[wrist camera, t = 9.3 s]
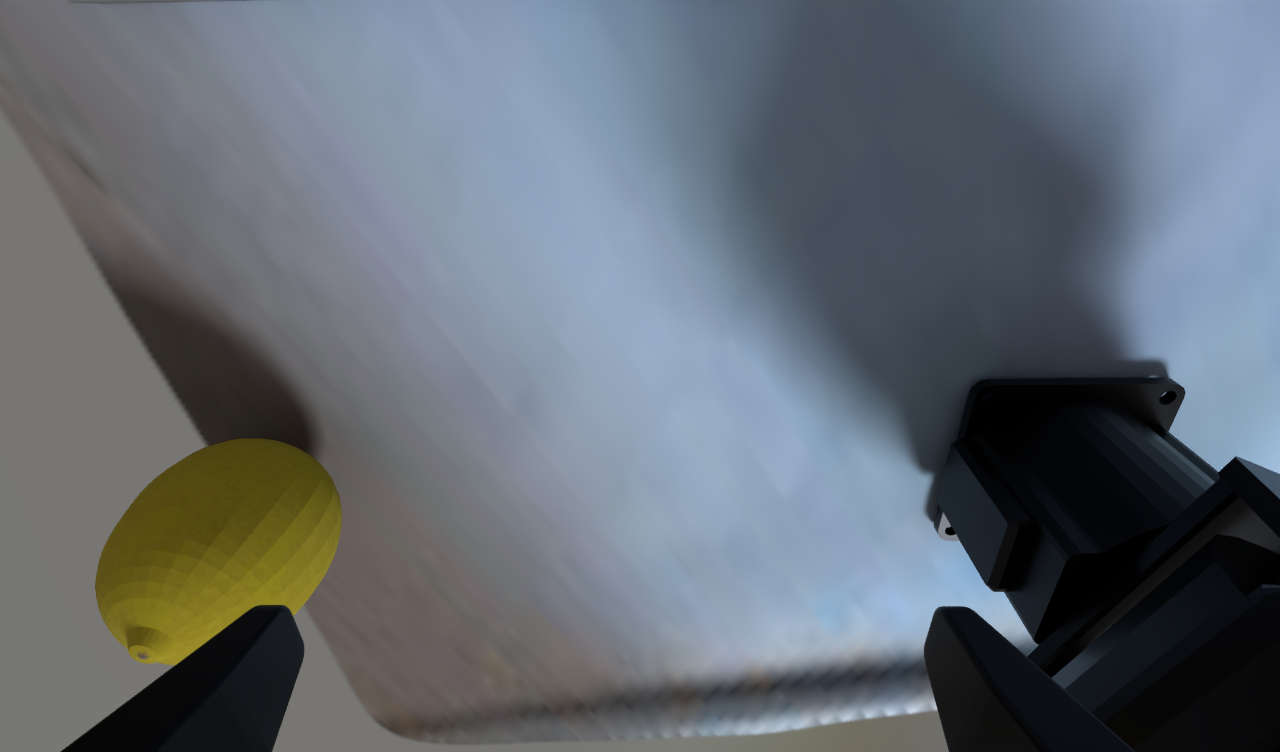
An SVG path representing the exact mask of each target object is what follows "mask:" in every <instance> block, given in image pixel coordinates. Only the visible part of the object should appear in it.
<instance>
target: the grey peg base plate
mask: <svg viewBox="0 0 1280 752" xmlns="http://www.w3.org/2000/svg"><path fill="white" fill-rule="evenodd" d="M200 1H247V0H68V2H69V3H98V4H105V3H153V2H200Z"/></svg>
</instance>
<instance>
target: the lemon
mask: <svg viewBox="0 0 1280 752" xmlns="http://www.w3.org/2000/svg"><path fill="white" fill-rule="evenodd" d="M341 526H342V512H341V503H340V497H339V494H338V492H337V489H336V487H335V485H334V482H333V480H332V478H331V476H330V475H329V474H328V473H327V471H326V470H325V469H324V467H323V466H322V465H321V464H320V463H319V462H317V461H316V460H315V459H314V458H313V457H312V456H310V455H309V454H307V453H306V452H304V451H302V450H301V449H299V448H297V447H294V446H292V445H289V444H286V443H283V442H280V441H275V440H269V439H263V438H248V439H234V440H229V441H225V442H222V443H218V444H215V445H211V446H208V447H205V448H203V449H200V450H198V451H196V452H194V453H192V454H191V455H189V456H187V457H186V458H184V459H182V460H181V461H179V462H178V463H176V464H175V465H173V466H172V467H170V468H169V469H167V470H166V471H164V472H163V473H162V474H160V475H159V476H158V477H157V478H155V479H154V480H153V481H152V482H151V483H150V484H149V485H148V486H147V487H146V488H145V489H144V490H143V491H142V492H141V493H140V494H139V496H138V497H137V498H136V499H135V500H134V502H133V503H132V504H131V506H130V507H129V508H128V510H127V511H126V512H125V514H124V515H123V516H122V518H121V519H120V521H119V522H118V524H117V525H116V526H115V528H114V530H113V531H112V533H111V535H110V536H109V538H108V540H107V542H106V544H105V546H104V548H103V551H102V554H101V557H100V560H99V564H98V570H97V575H96V582H95V590H96V598H97V602H98V607H99V611H100V613H101V616H102V619H103V620H104V622H105V624H106V626H107V627H108V629H109V631H110V632H111V633H112V635H113V636H114V637H115V638H116V639H117V640H118V641H119V642H120V643H121V644H122V645H123V646H125V647H126V648H127V649H128V652H129V654H130V656H131V657H132V658H133V659H135V660H137V661H138V662H141V663H147V664H150V663H155V662H158V663H162V664H167V665H176V664H178V663H179V662H180V661H182V660H183V659H184V658H186V657H187V656H188V655H190V654H191V653H192V652H194V651H195V650H196V649H198V648H199V647H200V646H202V645H203V644H204V643H206V642H207V641H208V640H210V639H211V638H212V637H214V636H215V635H216V634H218V633H219V632H220V631H222V630H223V629H224V628H225V627H227V626H228V625H229V624H231V623H232V622H233V621H235V620H236V619H237V618H239V617H240V616H241V615H243V614H244V613H245V612H247V611H248V610H250V609H251V608H253V607H255V606H258V605H285V606H286V607H288V608H289V609H290V611H291V613H292V615H293V616H294V615H295V614H296V613H297V612H298V610H299V609H300V608H301V607H302V606H303V605H304V604H305V602H306V601H307V600H308V599H309V597H310V596H311V594H312V593H313V592H314V590H315V589H316V587H317V586H318V584H319V583H320V581H321V580H322V579H323V577H324V576H325V574H326V572H327V570H328V568H329V567H330V564H331V562H332V560H333V558H334V555H335V552H336V549H337V545H338V540H339V536H340V531H341Z"/></svg>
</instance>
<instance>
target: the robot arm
mask: <svg viewBox="0 0 1280 752" xmlns="http://www.w3.org/2000/svg"><path fill="white" fill-rule="evenodd" d="M990 392H993V393H992V395H991V396H990V397H989V398H987V399H983V397H984V395H986V394H987V393H990ZM1165 392H1166V394H1165V395H1164V396H1162V397H1161V395H1162V394H1163V393H1165ZM1184 396H1185V390H1184V388H1183V387H1182V386H1181V385H1179V384H1178V383H1176V382H1175V381H1173V380H1172V379H1170V378H1048V379H985V380H981V381H979V382H977V383H976V384H975V385H974V386H973V387H972V388H971V390H970V392H969V395H968V399H967V403H966V406H965V410H964V414H963V417H962V421H961V425H960V428H959V432H958V436H957V439H955V441H954V442H953V443H952V444H951V446H950V450H949V454H948V457H947V461H946V465H945V469H944V472H943V476H942V480H941V484H940V487H939V491H938V495H937V503H938V504H939V506H938V509H937V513H936V517H935V520H934V528H935V529H936V531H937V533H938V535H939V536H940V538H942V539H944V540H949V541H960V542H961V544H962V545H963V547H964V549H965V550H966V552H967V554H968V555H969V557H970V559H971V561H972V562H973V564H974V566H975V567H976V569H977V571H978V572H979V574H980V576H981V578H982V579H983V581H984V583H985V584H986V585H987V586H988V587H989V588H990V589H991V590H992V591H994V592H1004V593H1005V594H1006V596H1007V598H1008V599H1009V601H1010V603H1011V604H1012V606H1013V607H1014V609H1015V611H1016V612H1017V614H1018V616H1019V617H1020V619H1021V621H1022V622H1023V624H1024V625H1025V627H1026V629H1027V630H1028V632H1029V634H1030V635H1031V637H1032V639H1033V640H1034V642H1036V643H1037V644H1039V645H1037V646H1036V647H1035V648H1034V649H1033V650H1032V651H1031V652H1030V653H1029V654H1028V655H1027V656H1025V655H1024V654H1023V653H1022V652H1021V651H1019V650H1018V649H1017V648H1016V647H1015V646H1014V645H1013V644H1011V643H1010V642H1009V641H1008V640H1007V639H1006V638H1005V637H1003V636H1002V635H1001V634H1000V633H999V632H998V631H996V630H995V629H994V628H993V627H992V626H991V625H990V624H988V623H987V622H986V621H985V620H984V619H983V618H982V617H980V616H979V615H978V614H977V613H976V612H975V611H973V610H972V609H970V608H968V607H962V606H942V607H939V608H937V609H936V610H935V612H934V615H933V618H932V621H931V625H930V628H929V631H928V635H927V638H926V641H925V645H924V659H925V664H926V668H927V672H928V676H929V679H930V683H931V687H932V691H933V694H934V698H935V702H936V705H937V709H938V713H939V717H940V720H941V724H942V728H943V732H944V735H945V739H946V743H947V746H948V750H949V752H1280V474H1278V473H1276V472H1273V471H1271V470H1268V469H1266V468H1264V467H1261V466H1259V465H1256V464H1254V463H1252V462H1249V461H1247V460H1244V459H1242V458H1240V457H1237V456H1236V457H1235V458H1234V459H1232V460H1231V461H1230V462H1229V463H1228V464H1227V465H1226V466H1225V467H1224V468H1223V469H1222V470H1221V471H1220V472H1218V471H1216V470H1215V469H1214V468H1213V467H1211V466H1210V465H1209V464H1208V463H1206V462H1205V461H1204V460H1203V459H1202V458H1200V457H1199V456H1198V455H1197V454H1195V453H1194V452H1193V451H1192V450H1190V449H1189V448H1188V447H1187V446H1185V445H1184V444H1183V443H1182V442H1180V441H1179V440H1178V439H1177V438H1175V437H1174V436H1173V435H1172V434H1170V433H1169V432H1168V431H1169V429H1170V427H1171V425H1172V423H1173V421H1174V418H1175V416H1176V414H1177V412H1178V410H1179V408H1180V406H1181V403H1182V401H1183V399H1184ZM950 525H951V527H948V526H950ZM947 527H948V528H947ZM303 657H304V643H303V640H302V637H301V635H300V632H299V630H298V627H297V625H296V622H295V620H294V618H293V615H292V613H291V611H290V609H289V608H288V607H286V606H285V605H258V606H255V607H253V608H251V609H250V610H248V611H247V612H245V613H244V614H243V615H241V616H240V617H239V618H237V619H236V620H235V621H233V622H232V623H231V624H229V625H228V626H227V627H225V628H224V629H223V630H222V631H220V632H219V633H218V634H216V635H215V636H214V637H212V638H211V639H210V640H208V641H207V642H206V643H204V644H203V645H202V646H200V647H199V648H198V649H196V650H195V651H194V652H192V653H191V654H190V655H188V656H187V657H186V658H184V659H183V660H182V661H180V662H179V663H178V664H176V665H175V666H174V667H172V668H171V669H170V670H168V671H167V672H166V673H164V674H163V675H162V676H160V677H159V678H158V679H156V680H155V681H154V682H152V683H151V684H150V685H148V686H147V687H146V688H144V689H143V690H142V691H141V692H139V693H138V694H136V695H135V696H134V697H132V698H131V699H130V700H129V701H127V702H126V703H125V704H123V705H122V706H120V707H119V708H118V709H116V710H115V711H114V712H113V713H111V714H110V715H109V716H107V717H106V718H105V719H103V720H102V721H101V722H99V723H98V724H97V725H95V726H94V727H93V728H91V729H90V730H89V731H87V732H86V733H85V734H83V735H82V736H81V737H79V738H78V739H77V740H75V741H74V742H73V743H71V744H70V745H69V746H67V747H66V748H65V749H63V750H62V751H61V752H272V750H273V747H274V744H275V741H276V738H277V735H278V732H279V729H280V726H281V724H282V721H283V718H284V715H285V712H286V709H287V706H288V703H289V700H290V697H291V694H292V691H293V688H294V685H295V682H296V679H297V676H298V673H299V670H300V667H301V664H302V661H303Z"/></svg>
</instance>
